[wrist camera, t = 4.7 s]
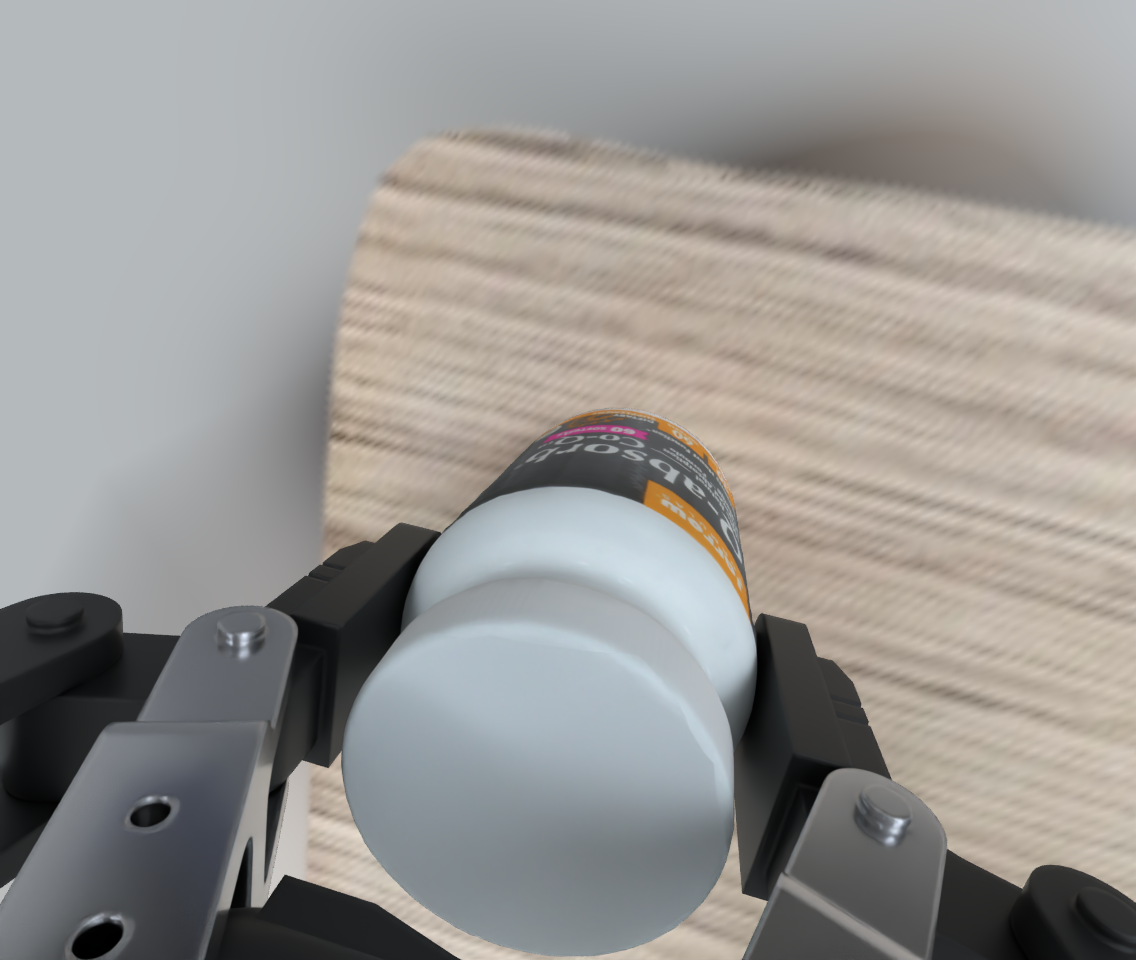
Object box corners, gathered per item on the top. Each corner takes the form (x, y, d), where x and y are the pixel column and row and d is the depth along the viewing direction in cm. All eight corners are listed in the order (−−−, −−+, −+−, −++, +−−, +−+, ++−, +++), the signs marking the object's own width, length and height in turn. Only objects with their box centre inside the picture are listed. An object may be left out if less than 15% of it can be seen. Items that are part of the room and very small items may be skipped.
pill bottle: (763, 435, 16) (873, 668, 6) (697, 639, 17) (706, 1054, 8) (534, 378, 16) (320, 513, 7) (493, 581, 18) (281, 907, 9)
